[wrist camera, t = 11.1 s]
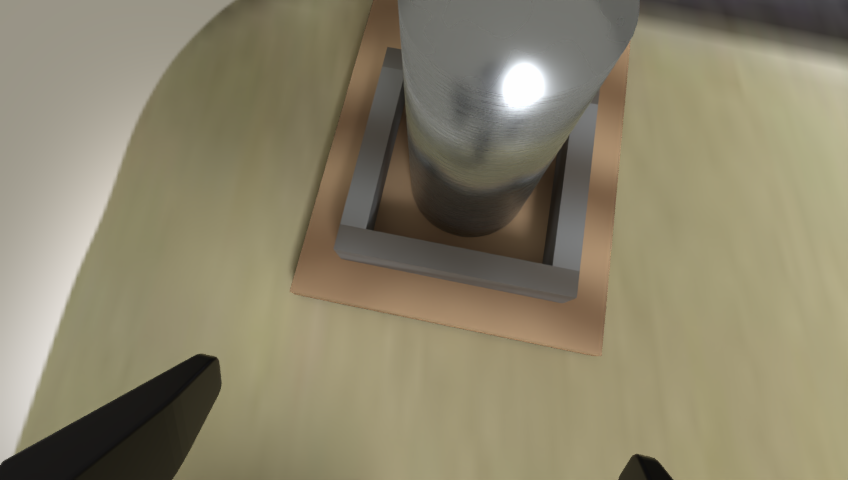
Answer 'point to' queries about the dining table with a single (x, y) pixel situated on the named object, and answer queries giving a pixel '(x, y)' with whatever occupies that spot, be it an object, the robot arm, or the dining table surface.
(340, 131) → the base
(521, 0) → the duct elbow
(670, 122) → the dining table surface
